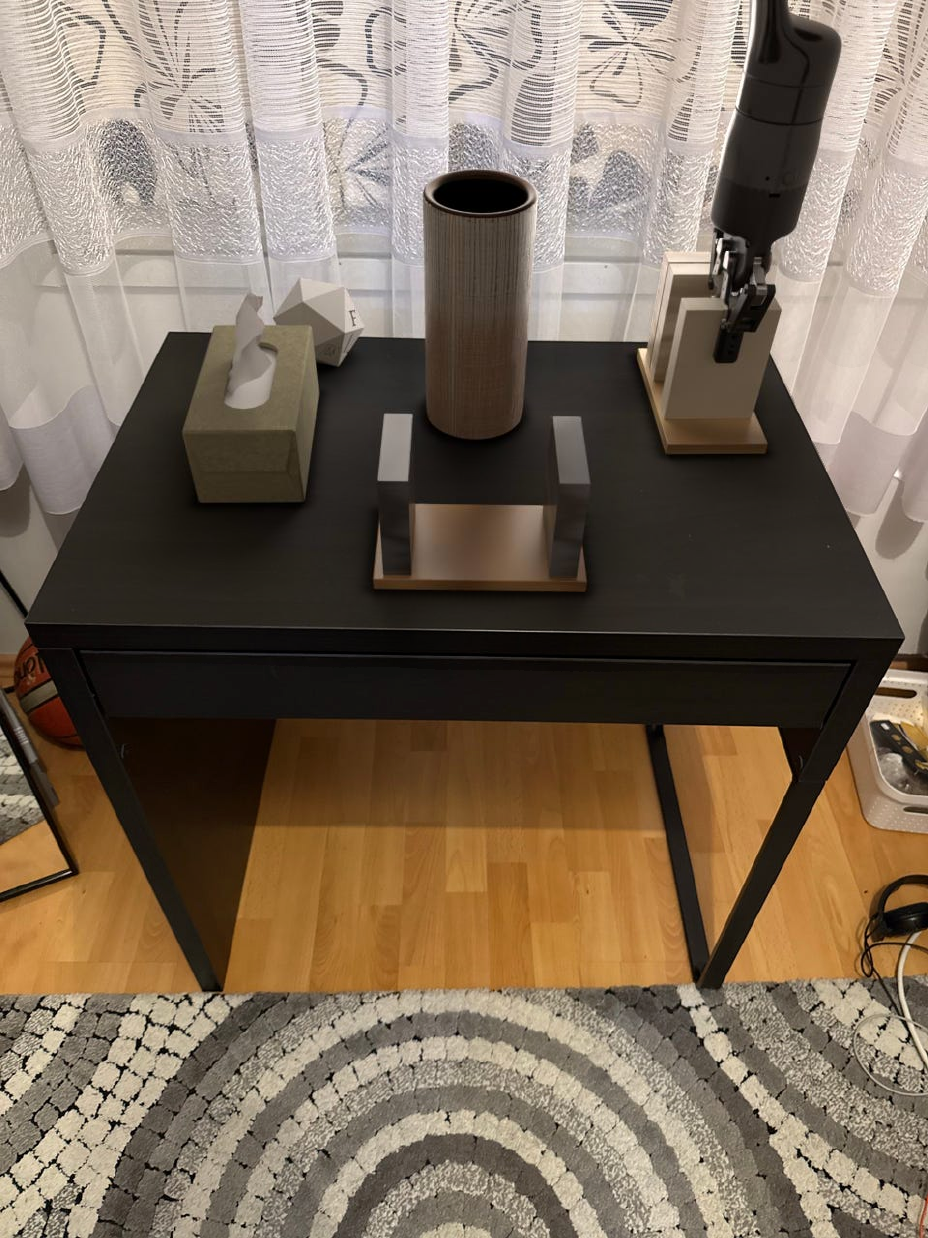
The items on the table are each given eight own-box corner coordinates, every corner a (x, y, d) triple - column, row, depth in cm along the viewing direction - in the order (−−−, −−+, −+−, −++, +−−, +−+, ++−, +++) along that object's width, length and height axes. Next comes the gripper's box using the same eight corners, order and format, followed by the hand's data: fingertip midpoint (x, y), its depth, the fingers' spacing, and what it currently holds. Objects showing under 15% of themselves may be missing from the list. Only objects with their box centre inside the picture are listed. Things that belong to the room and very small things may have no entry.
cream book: (751, 418, 95) (782, 309, 86) (664, 419, 95) (686, 309, 86) (745, 405, 97) (775, 297, 88) (659, 406, 96) (681, 297, 88)
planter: (537, 430, 95) (556, 206, 78) (444, 449, 93) (444, 221, 76) (501, 379, 101) (512, 162, 85) (414, 395, 99) (408, 175, 82)
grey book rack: (575, 515, 86) (589, 412, 78) (585, 592, 79) (601, 488, 71) (381, 513, 86) (374, 409, 78) (373, 589, 79) (365, 485, 71)
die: (307, 392, 100) (359, 319, 95) (246, 334, 100) (294, 258, 95) (341, 378, 108) (390, 311, 103) (284, 324, 107) (330, 254, 102)
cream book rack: (764, 453, 93) (802, 333, 83) (665, 454, 93) (691, 333, 83) (724, 357, 105) (752, 243, 96) (636, 357, 105) (656, 243, 95)
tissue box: (304, 505, 86) (283, 352, 75) (198, 506, 86) (160, 352, 74) (319, 392, 99) (303, 247, 88) (227, 392, 99) (199, 246, 87)
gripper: (703, 136, 83) (668, 315, 95) (740, 202, 73) (696, 392, 86) (786, 137, 83) (740, 315, 96) (834, 203, 73) (777, 392, 86)
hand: (720, 351), depth 91 cm, fingers open, 3 cm apart
